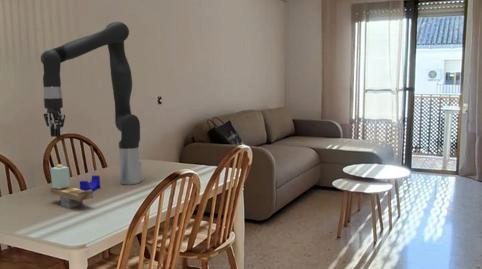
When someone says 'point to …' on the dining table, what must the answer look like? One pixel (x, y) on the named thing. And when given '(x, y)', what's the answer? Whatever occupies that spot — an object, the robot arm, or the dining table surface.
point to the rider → (60, 177)
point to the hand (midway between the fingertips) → (55, 136)
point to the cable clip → (91, 184)
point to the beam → (72, 196)
